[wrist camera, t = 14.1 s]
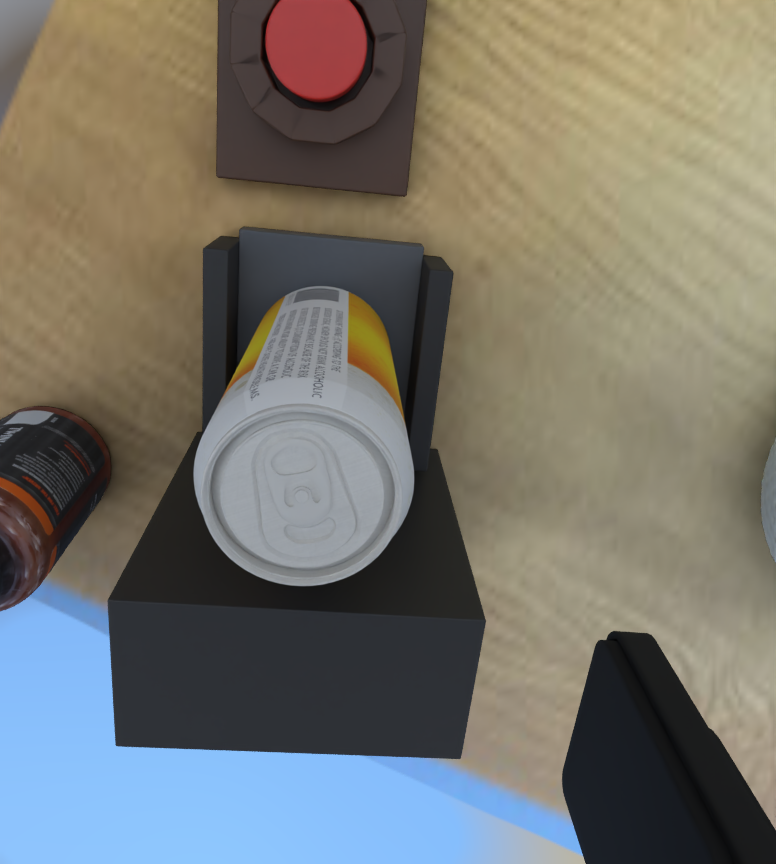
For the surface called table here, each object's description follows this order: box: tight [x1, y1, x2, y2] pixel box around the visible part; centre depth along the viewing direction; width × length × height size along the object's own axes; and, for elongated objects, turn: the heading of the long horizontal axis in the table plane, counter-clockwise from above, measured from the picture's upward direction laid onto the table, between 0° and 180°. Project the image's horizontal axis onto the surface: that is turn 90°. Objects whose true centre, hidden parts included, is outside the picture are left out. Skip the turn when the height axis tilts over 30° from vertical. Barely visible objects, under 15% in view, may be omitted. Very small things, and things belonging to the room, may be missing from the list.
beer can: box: [194, 286, 414, 586], centre depth 26 cm, size 6×6×15 cm
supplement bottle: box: [0, 406, 111, 611], centre depth 30 cm, size 6×6×11 cm
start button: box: [265, 0, 367, 102], centre depth 26 cm, size 4×4×2 cm
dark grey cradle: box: [108, 227, 486, 759], centre depth 28 cm, size 12×16×14 cm
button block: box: [216, 0, 427, 197], centre depth 28 cm, size 8×10×3 cm
